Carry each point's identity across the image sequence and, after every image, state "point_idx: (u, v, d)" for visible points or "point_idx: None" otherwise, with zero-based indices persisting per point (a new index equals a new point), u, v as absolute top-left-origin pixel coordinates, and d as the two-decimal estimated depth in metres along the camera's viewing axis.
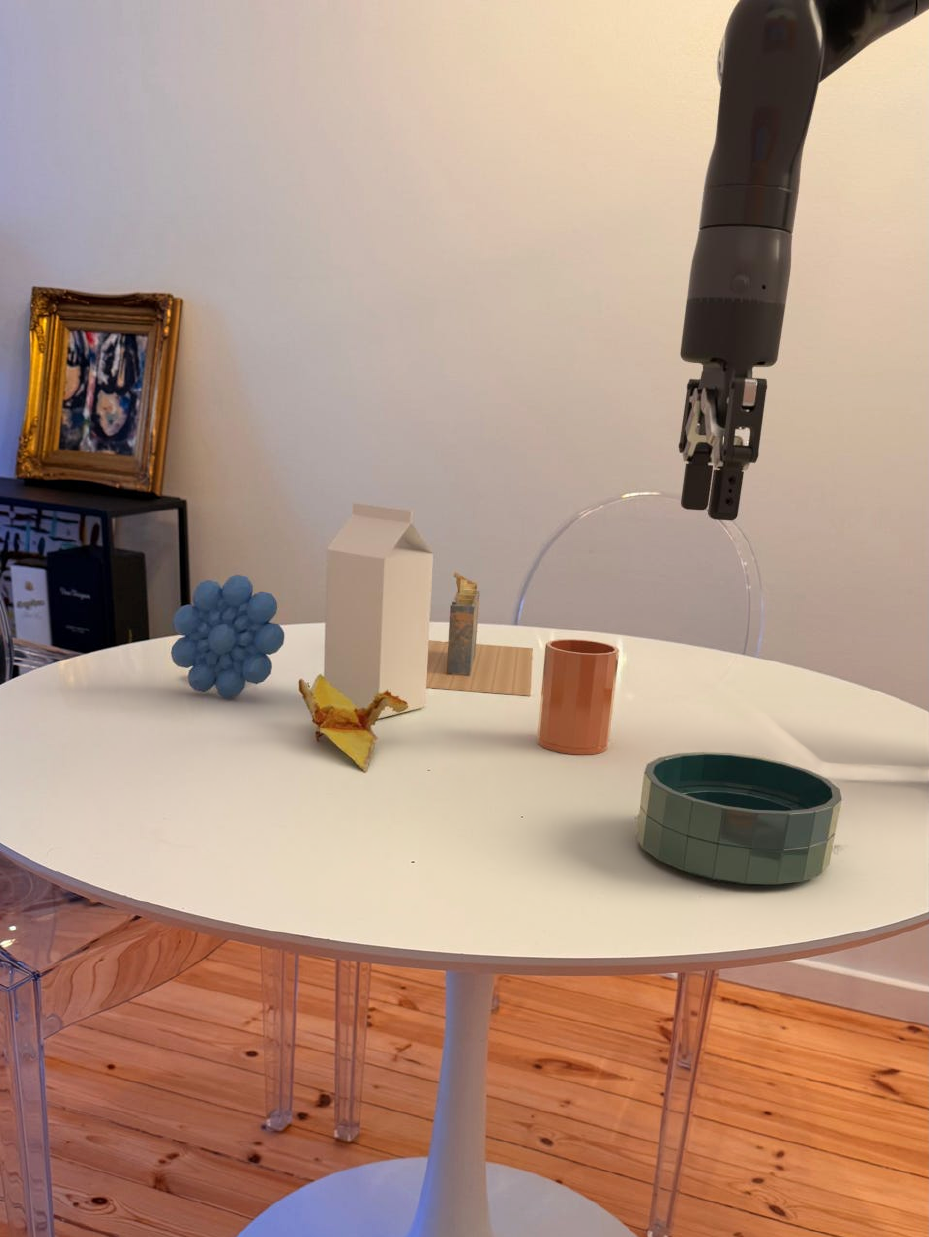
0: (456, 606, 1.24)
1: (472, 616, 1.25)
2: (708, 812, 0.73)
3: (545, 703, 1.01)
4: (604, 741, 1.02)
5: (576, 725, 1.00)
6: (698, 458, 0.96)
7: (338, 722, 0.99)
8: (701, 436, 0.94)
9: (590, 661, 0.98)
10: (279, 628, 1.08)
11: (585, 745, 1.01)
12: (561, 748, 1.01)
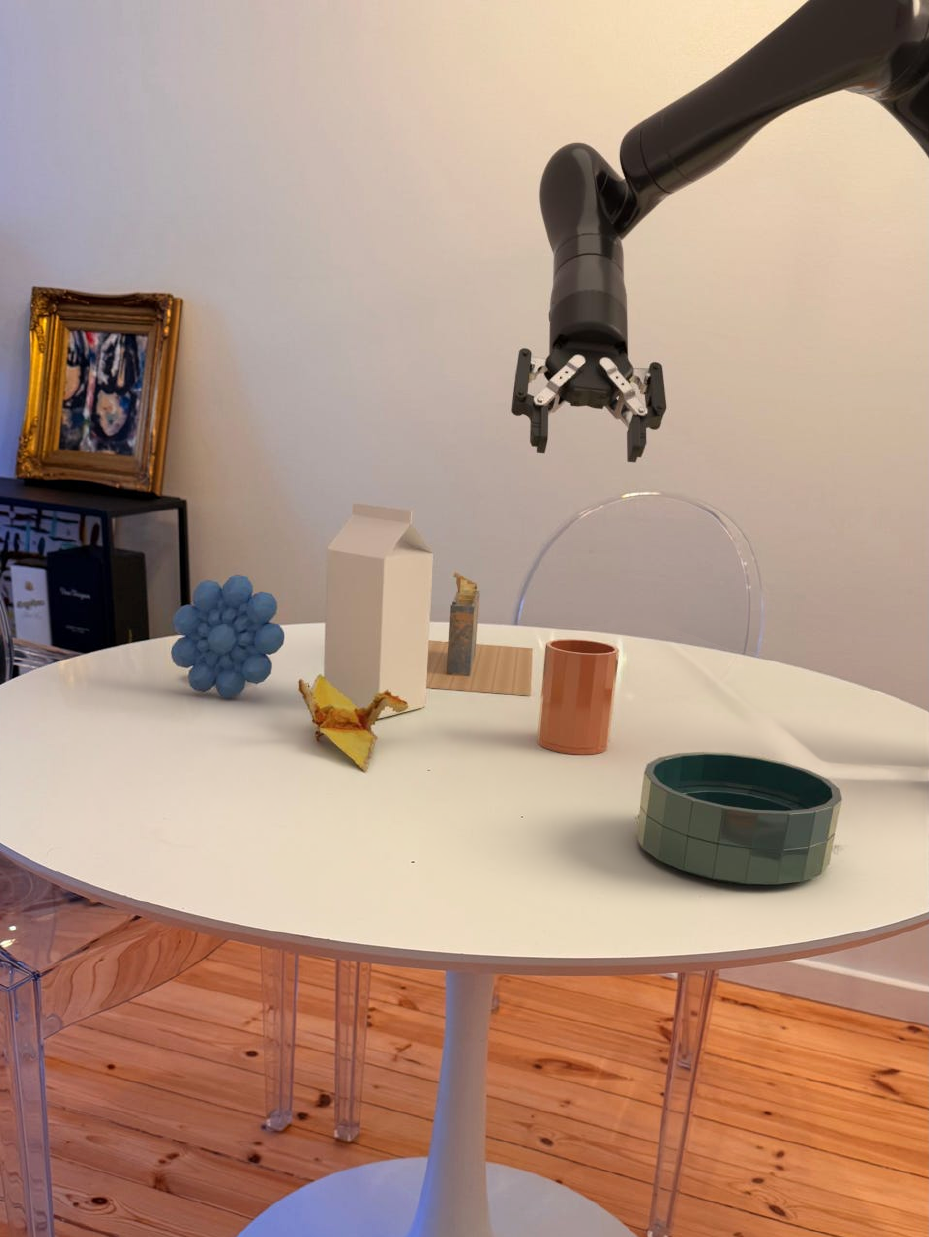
0: (456, 606, 1.24)
1: (472, 616, 1.25)
2: (708, 812, 0.73)
3: (545, 703, 1.01)
4: (604, 741, 1.02)
5: (576, 725, 1.00)
6: (630, 422, 1.07)
7: (338, 722, 0.99)
8: (616, 408, 1.08)
9: (590, 661, 0.98)
10: (279, 628, 1.08)
11: (585, 745, 1.01)
12: (561, 748, 1.01)
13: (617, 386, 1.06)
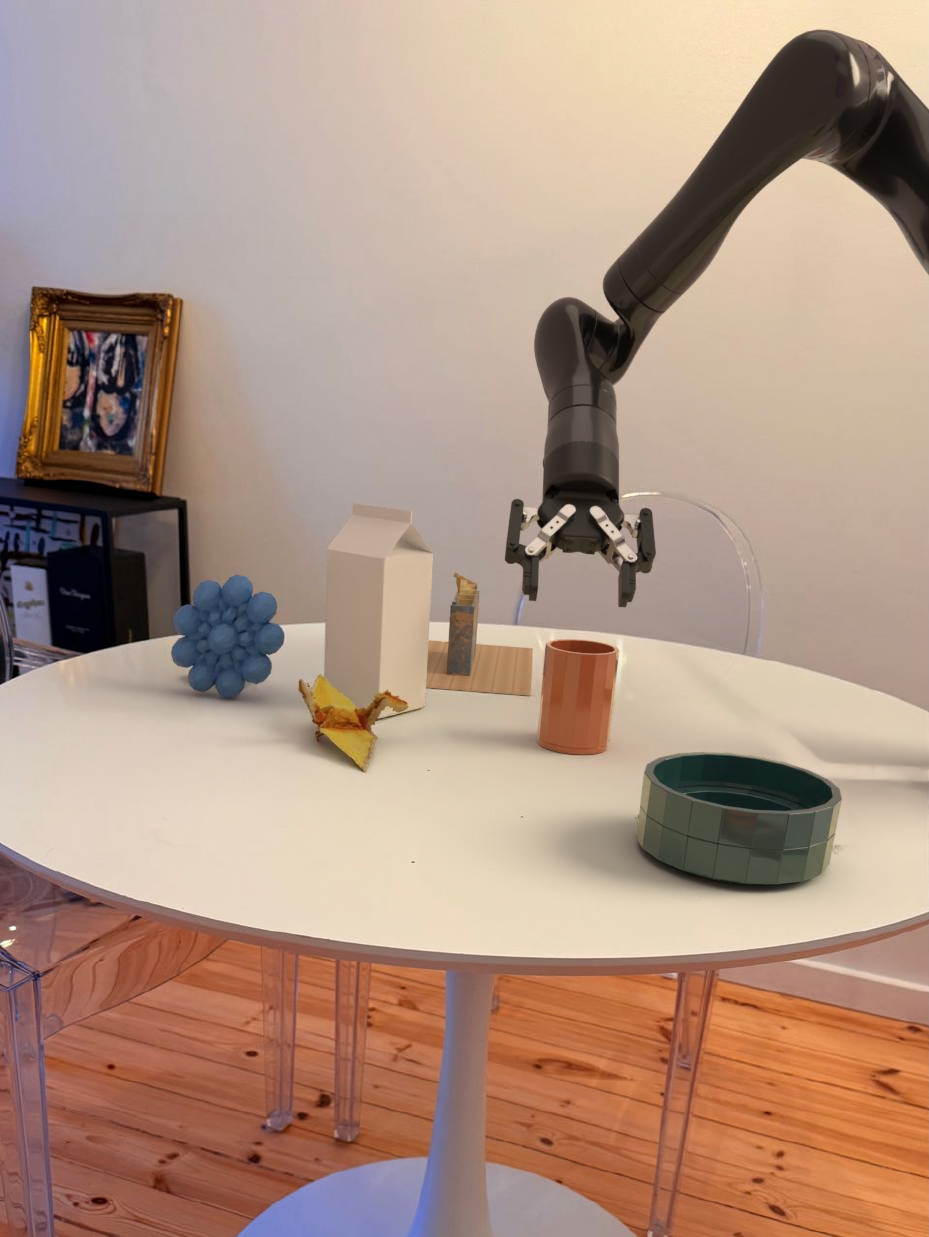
0: (456, 606, 1.24)
1: (472, 616, 1.25)
2: (708, 812, 0.73)
3: (545, 703, 1.01)
4: (604, 741, 1.02)
5: (576, 725, 1.00)
6: None
7: (338, 722, 0.99)
8: (607, 553, 1.10)
9: (590, 661, 0.98)
10: (279, 628, 1.08)
11: (585, 745, 1.01)
12: (561, 748, 1.01)
13: (607, 534, 1.09)
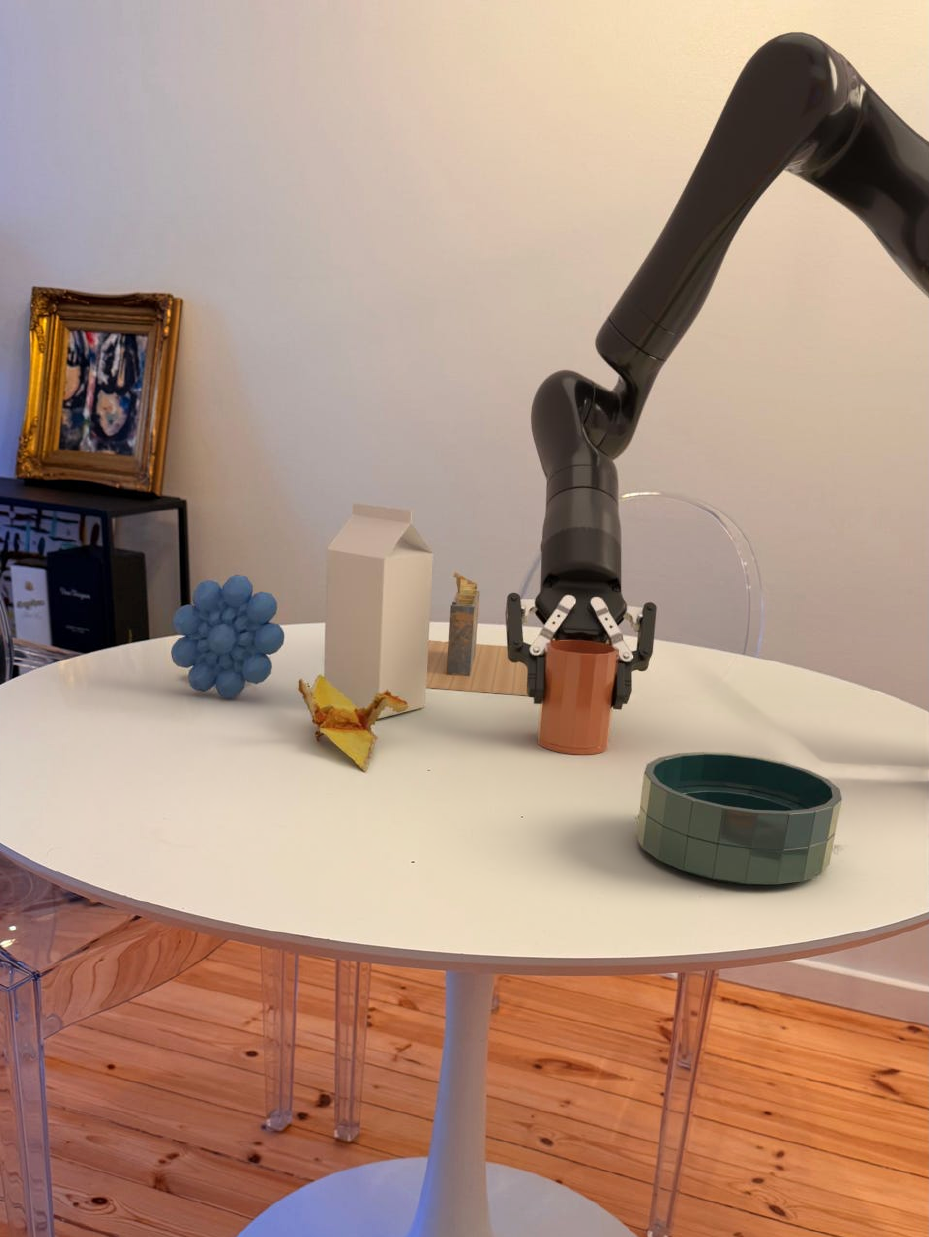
0: (456, 606, 1.24)
1: (472, 616, 1.25)
2: (708, 812, 0.73)
3: (545, 703, 1.01)
4: (604, 741, 1.02)
5: (576, 725, 1.00)
6: None
7: (338, 722, 0.99)
8: None
9: (590, 662, 0.98)
10: (279, 628, 1.08)
11: (585, 745, 1.01)
12: (561, 748, 1.01)
13: (604, 628, 1.02)
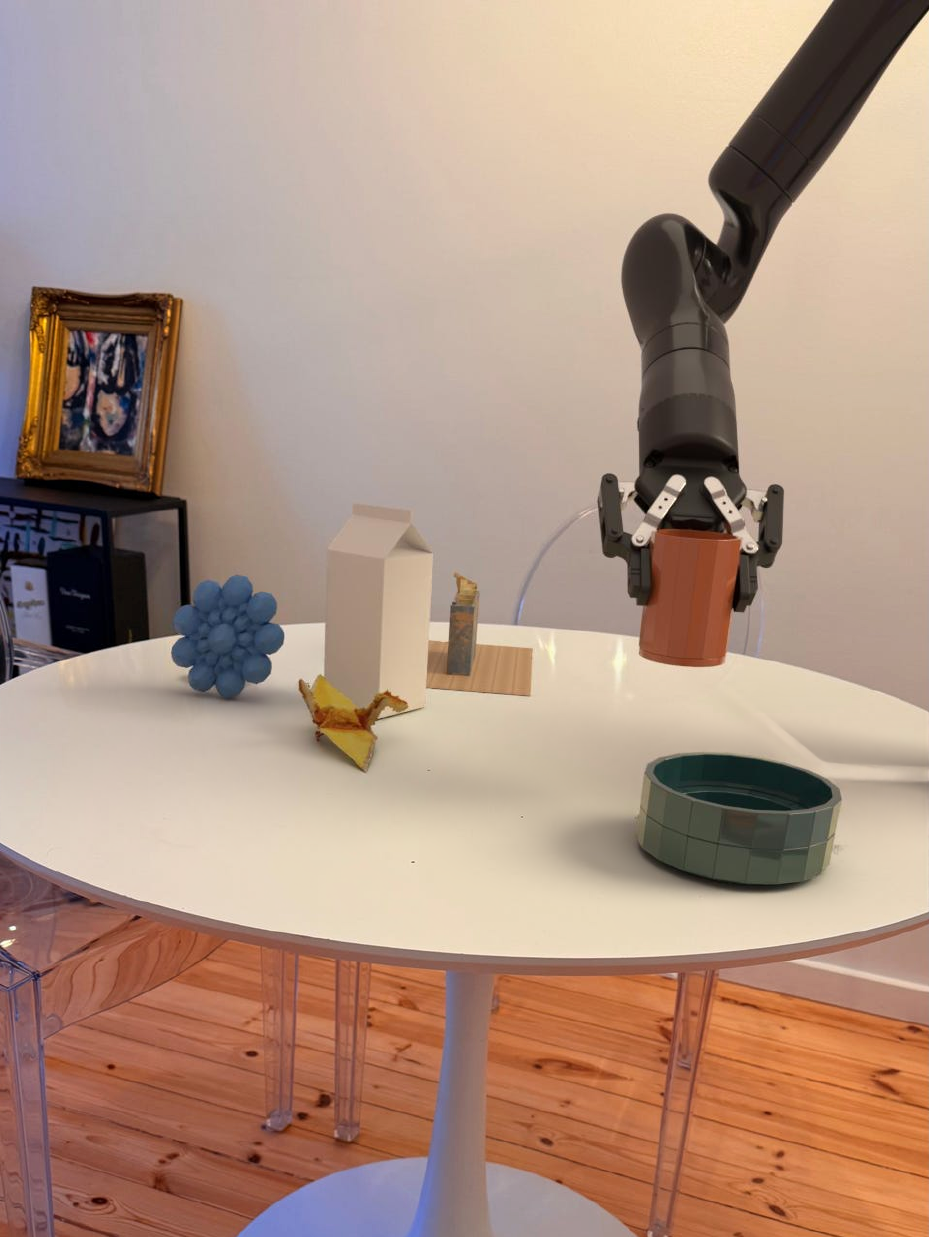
0: (456, 606, 1.24)
1: (472, 616, 1.25)
2: (708, 812, 0.73)
3: (651, 604, 0.83)
4: (723, 651, 0.83)
5: (691, 630, 0.81)
6: None
7: (338, 722, 0.99)
8: None
9: (710, 549, 0.80)
10: (279, 628, 1.08)
11: (701, 655, 0.82)
12: (671, 659, 0.83)
13: (722, 514, 0.84)
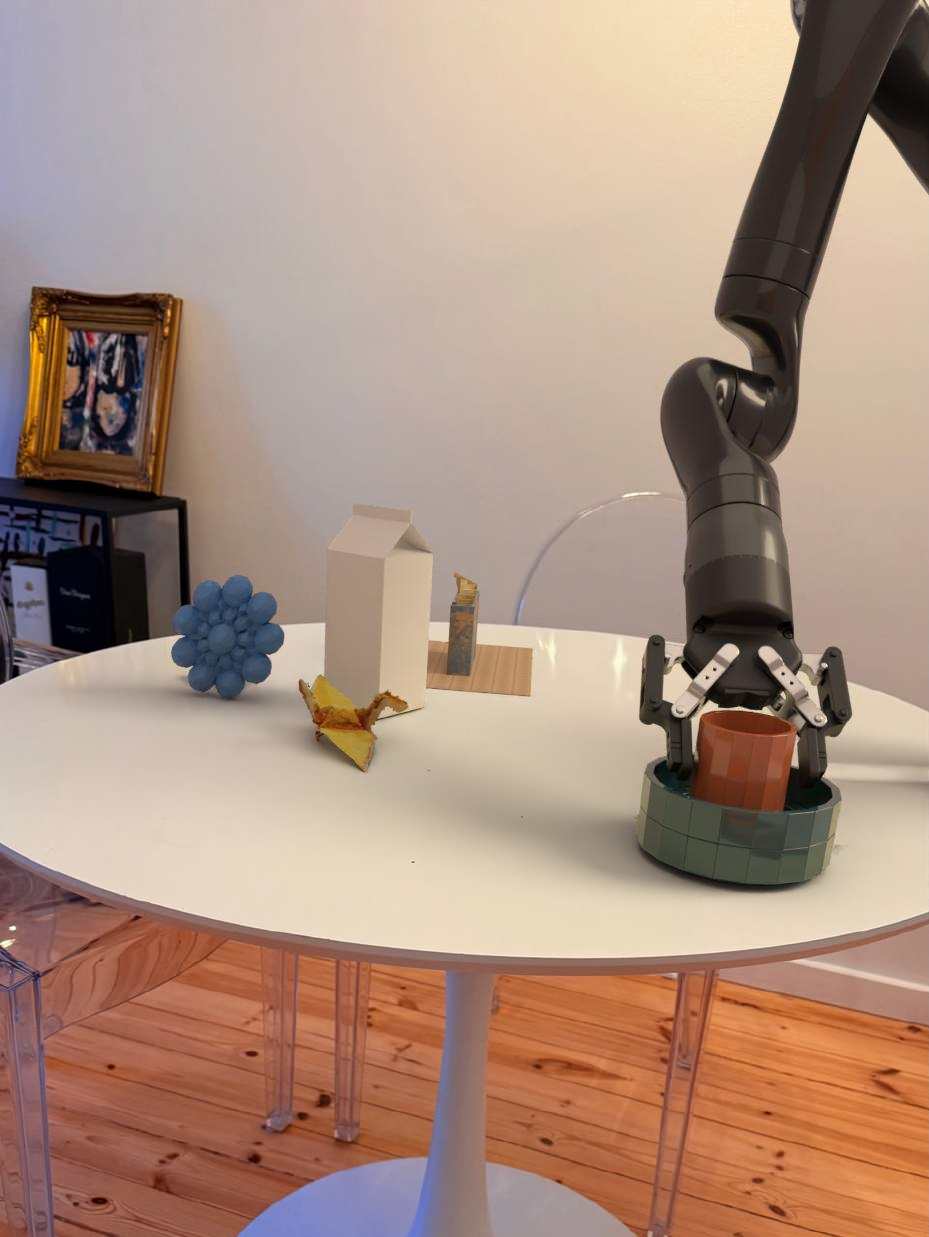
0: (456, 606, 1.24)
1: (472, 616, 1.25)
2: (708, 812, 0.73)
3: (699, 796, 0.78)
4: None
5: None
6: (802, 731, 0.79)
7: (338, 722, 0.99)
8: (781, 710, 0.80)
9: (765, 745, 0.74)
10: (279, 628, 1.08)
11: None
12: None
13: (784, 686, 0.78)
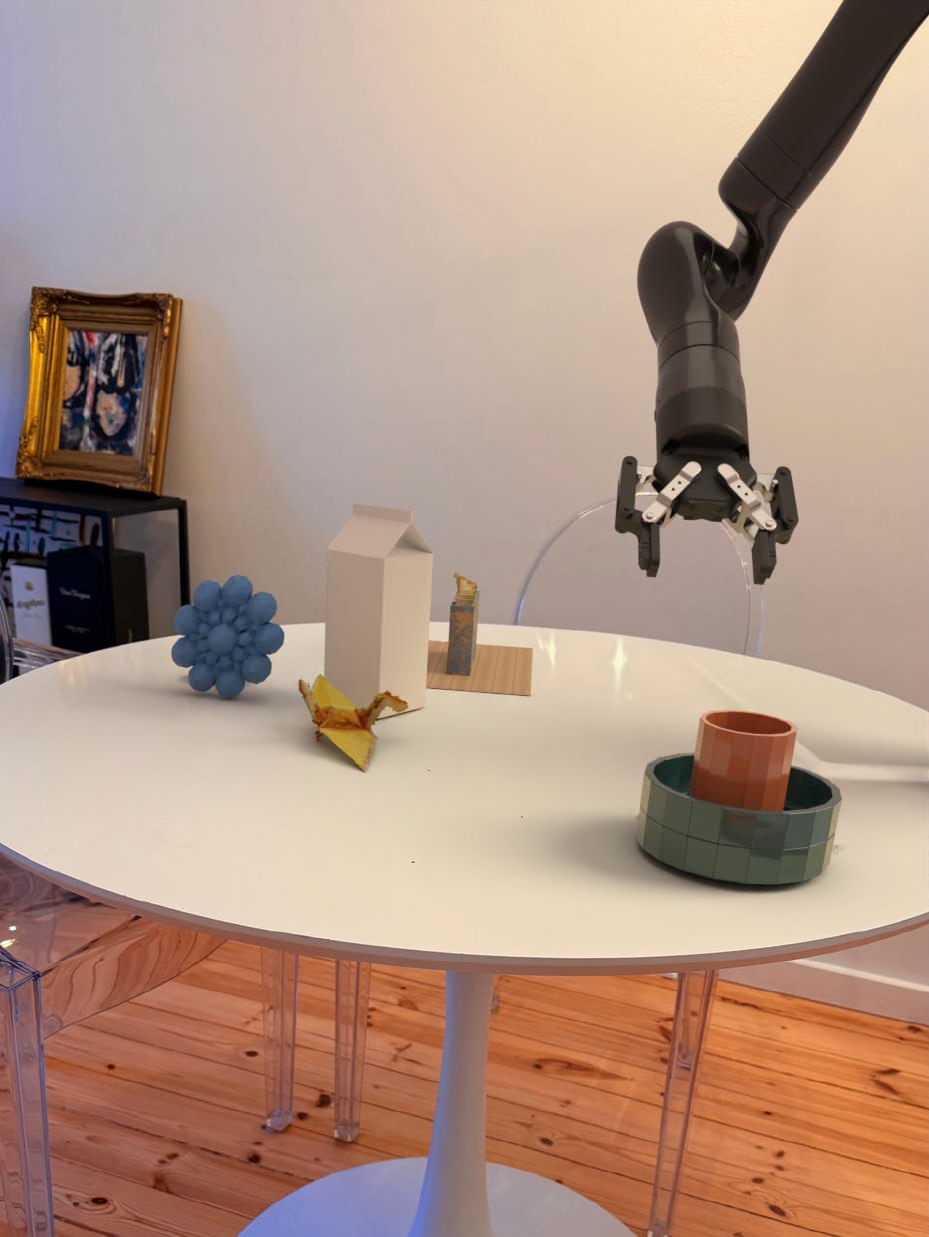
0: (456, 606, 1.24)
1: (472, 616, 1.25)
2: (708, 812, 0.73)
3: (699, 796, 0.78)
4: None
5: None
6: (756, 537, 0.91)
7: (338, 722, 0.99)
8: (738, 520, 0.92)
9: (765, 745, 0.74)
10: (279, 628, 1.08)
11: None
12: None
13: (740, 497, 0.91)
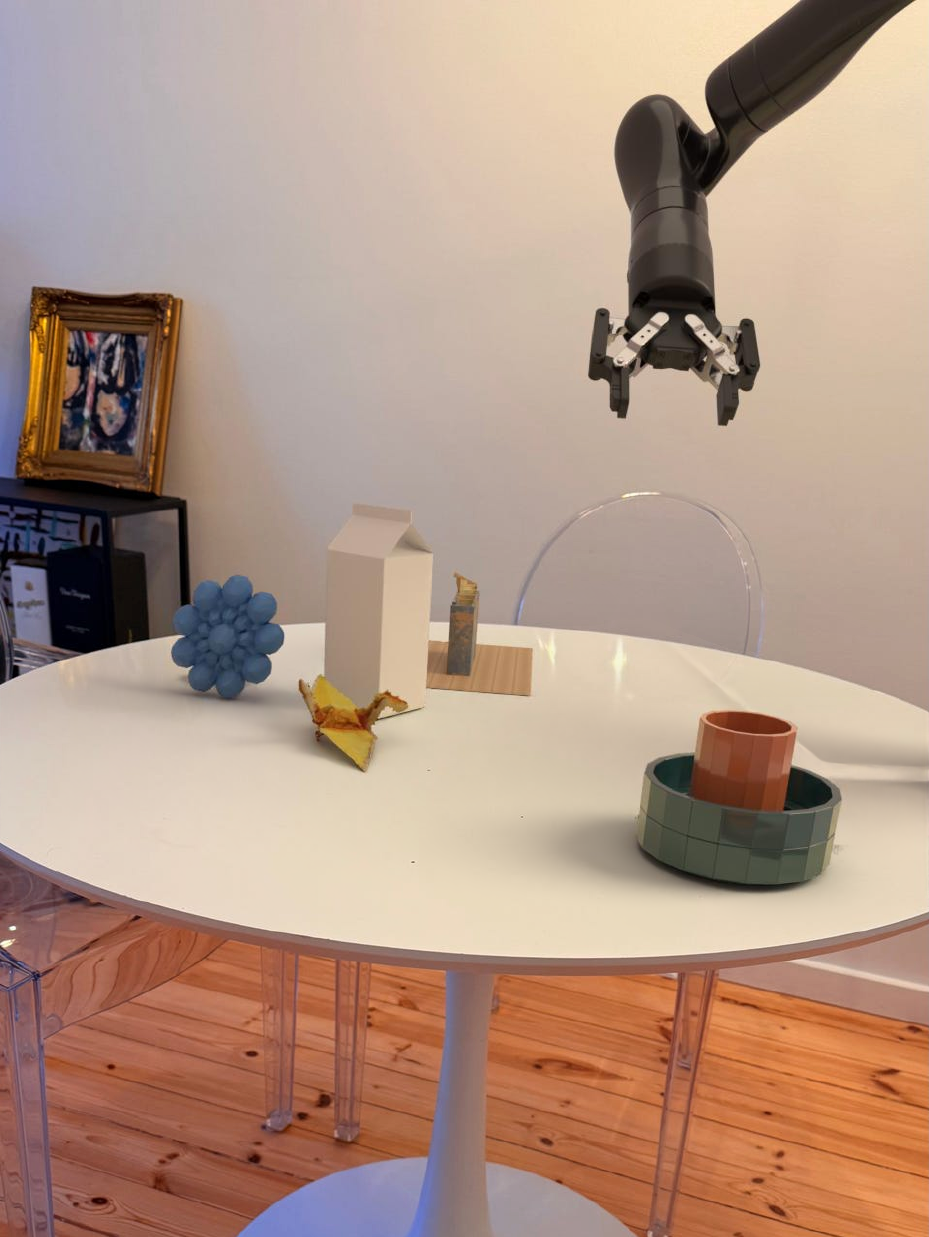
0: (456, 606, 1.24)
1: (472, 616, 1.25)
2: (708, 812, 0.73)
3: (699, 796, 0.78)
4: None
5: None
6: None
7: (338, 722, 0.99)
8: (704, 369, 0.98)
9: (765, 745, 0.74)
10: (279, 628, 1.08)
11: None
12: None
13: (705, 343, 0.96)
